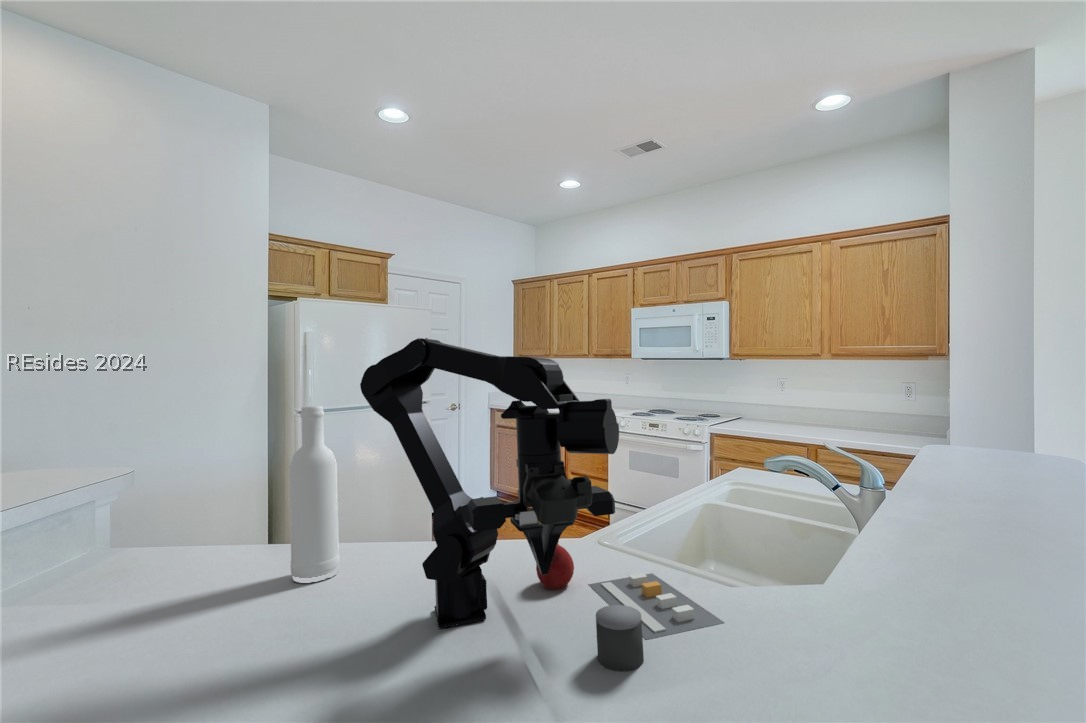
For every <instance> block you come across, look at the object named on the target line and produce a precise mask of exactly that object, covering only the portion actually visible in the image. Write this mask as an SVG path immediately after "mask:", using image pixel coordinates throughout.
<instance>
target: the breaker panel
mask: <svg viewBox="0 0 1086 723" xmlns="http://www.w3.org/2000/svg"><path fill="white" fill-rule="evenodd" d="M654 581H657V582H658V583H660V584H661V589H662V595H657V596H652V597H646V596H644V595H643V594H642V584H643V583H649V582H654ZM587 585H588V586H589V587H590V588H591V589H592V590H593V591H594V592H595V593H596V594H597V595H599V597H600V598H601V599H602V600H604V602H605V603H606V604H608V606H611V605H624V606H629V607H632V608H635V609H637V610H638V611H639V612H640V613H641V619H642V638H643V639H644V640H645V641H647V640H654V639H657V638H661V637H662V638H663V637H666V636H671V635H672V636H673V635H675V634H680V633H684V632H690V631H694V630H699V629H704V628H707V627H708V628H709V627H714V626H718V625H721V624H726V622H725V621H723V620H722V619H720V618H719V617H717V616H716V615H715V614H713V613H711V612H710V611H709V610H707V609H705V608H704V607H703V606H702V605H700V604H699V603H697V602H696V601H694V600H692V599H691V598H690V597H688V596H686V595H685V594H683V592H682V591H679V590H678V589H676V588H675V587H674V586H671V585H670V584H669V583H667V582H665V581H664V580H663V579H662V578H660V577H659V576H657V575H655V574H654V573H643V572H642V573H637V574H636V573H635V574H631V575H628V577H622V578H617V579H611V580H605V581H600V582H599V581H598V582H594V583H588V584H587Z"/></svg>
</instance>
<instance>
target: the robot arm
mask: <svg viewBox="0 0 1086 723" xmlns="http://www.w3.org/2000/svg"><path fill="white" fill-rule="evenodd" d="M435 369H436V370H440V371H444V372H448V373H452V374H455V375H459V376H463V377H466V378H471V379H475V380H479V381H482V382H486V383H487V384H490V385H491V386H494V387H495V388H496V389H497V390H499V392H502V393H504V394H505V395H507V396H510V397H512V398H514V399H515V400H512V401H511V402H510V404H509V406H508V407H507V408H506V409H505V410H504V411H503V412H502V413H501V414H500V418H501V419H504V420H509V419H510V420H511V419H512V420H514V419H515V423H516V425H515V426H516V447H517V448H516V454H517V459H516V461H515V462H516V468H517V472H518V474H517V478H518V481H517V482H518V489H517V498H518V501H517V500H516V501H509V502H503V501H502V500H501V499H499V497H498V496H487V497H484V496H482V497H481V496H480V497H479V498H473V497H471V496H469V495H468V494H467V493H466V492H465V490H464V489H463V486H462V485H461V483H460V481H459V479H458V478H457V476H456V473H455V472H454V469H453V467H452V465H451V463H450V462H449V459H448V457H447V456H446V453H445V452H444V450H443V448H442V446H441V444H440V442H439V440H438V438H437V436H436V434H435V432H434V431H433V428H432V426H431V425H430V422H429V421H428V419H427V417H426V415H425V413H424V411H423V398H424V396H423V395H424V393H423V390H422V385H424V384H425V383H426V382H427V381H429V379H430V378H431V376H432V374H433V373H434V371H435ZM359 385H360V390H361V394H362V396H363V397H364V399H365V400H366V402H367V403H368V405H369V406H370V407H371V409H372V411H374V412H375V413H376V414H377V415H379V416H380V417H382V418H383V419H384V420H385V421H387V422H388V423H389V424H390V426H391V427H392V428H393V430H394V432H395V434H396V436H397V438H398V441H399V443H400V445H401V446H402V449H403V451H404V453H405V455H406V457H407V459H408V461H409V463H410V465H411V467H412V470H413V471H414V474H415V476H416V478H417V480H418V481H419V483H420V485H421V487H422V489H423V492H424V494H425V496H426V498H427V500H428V501H429V503H430V506H431V508H432V511H433V514H432V517H433V518H432V534H433V538H434V541H435V544H436V547H435V548H434V549H433V550H432V551H431V553H430V554H429V555H428V556H427V557H426V559H425V560H424V561H423V562H422V563H421V564H422V568H423V571H424V572H423V573H424V574H425V575H424V576H425V578H426V579H427V580H432V581H433V580H434V583H435V584H434V586H435V605H434V606H433V608H435V609H434V613H436V615H435V619H436V618H437V619H436V623H438V624H437V628H439V627H443V628H446V627H445V626H449V627H453V626H452V625H454V626H457V625H456V624H460V625H464V624H470V623H476V622H481V621H484V620H487V614H486V612H485V611H486V610H488V599H487V598H488V597H487V596H488V595H487V589H488V588H487V579H486V577H485V575H484V574H483V570H482V568H481V566H482V565H483V564H486V563H488V561H489V558H490V555H491V552H492V551H493V550H494V548H495V547H496V546H497V542H498V541H497V540H498V537H499V532H498V529H501V528H502V527H503V526H504V524H505V523H506V522H507V519H509V520H510V523H511V524H512V526H514V527H515V529H517V531H519V532H521V533H522V532H523V535H524V537H525V538H526V541H527V543H528V545H529V548H530V551H531V553H532V555H533V558H534V560H535V563H536V564H537V566H538V569H539V571H540V573H541V574H542V575H547V574H548V573H549V569H550V566H551V563H552V559H553V556H554V552H555V549H556V546H557V543H558V544H559V542H558V541H560V538H561V536H562V534H563V532H564V531H565V530H566V528H568V527H572V526H573V525H574V524H575V521H577V518H578V510H583V509H586V510H587V511H588V512H589V513H590V514H591V515H592V516H594V517H600V516H601V517H602V516H607V515H608V516H609V515H614V514H615V513H616V506H615V505H616V503H615V497H614V495H613V494H612V493H611V492H610V491H609V490H606V489H604V488H602V487H599V486H597V485H592V481H591V479H590V478H589V476H587V475H584V476H574V477H573V478H568V477H567V474H566V467H565V461H563V460H562V448H564V449H565V451H566V452H567V453H569V454H585V455H586V454H588V455H591V454H593V455H595V454H597V455H614V454H615V453H616V451H617V449H618V446H619V439H620V426H619V425H620V424H619V423H618V421H617V415H616V414H615V411H614V409H613V408H612V404H613V402H612V399H611V398H599V399H594V400H580V399H579V398H578V397H577V395H576V393H574V391H573V390H572V389H571V388H570V386H569V384H567V382H566V381H565V380H564V373H563V370H562V368H561V367H560V365H559V363H558V362H557V361H555V360H554V359H551V358H546V357H545V358H543V357H532V356H531V357H530V356H509V355H508V356H507V355H506V356H504V355H503V356H501V355H495V354H491V353H487V352H484V351H478V350H475V349H471V348H465V347H461V346H456V345H453V344H448V343H444V342H441V341H440V340H438V339H430V338H416V339H413V340H412V341H410V342H409V343H408V344H407V345H405V346H404V347H403V348H401V349H399V350H398V351H395V352H393V353H392V354H389V355H387V356H386V357H384V358H381V359H380V360H379V361H378V362H377V363H376V364H371V365H370V366H369V367H367V368H366V370H365V371H364V372H363V375H362V377H361V380H360V384H359ZM524 402H531V403H533V404H534V405H526V404H524ZM557 409H558V412H549V410H557Z"/></svg>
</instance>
